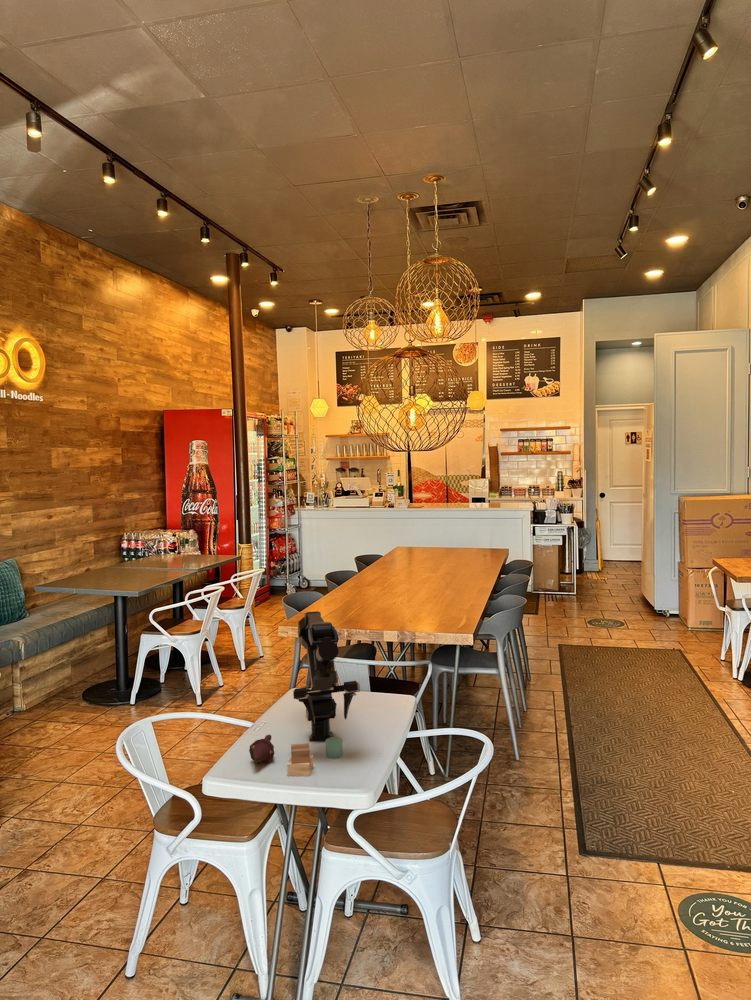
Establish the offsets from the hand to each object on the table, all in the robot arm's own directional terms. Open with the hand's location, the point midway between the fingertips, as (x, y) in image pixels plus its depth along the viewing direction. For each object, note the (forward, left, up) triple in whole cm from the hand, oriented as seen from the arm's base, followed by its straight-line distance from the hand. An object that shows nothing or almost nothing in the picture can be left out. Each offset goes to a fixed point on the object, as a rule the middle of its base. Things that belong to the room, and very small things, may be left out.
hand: (329, 721), depth 200 cm
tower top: (+7, -7, -8) cm, 13 cm away
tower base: (+7, -8, -12) cm, 16 cm away
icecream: (+1, -20, -12) cm, 23 cm away
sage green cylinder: (-4, 0, -11) cm, 12 cm away
